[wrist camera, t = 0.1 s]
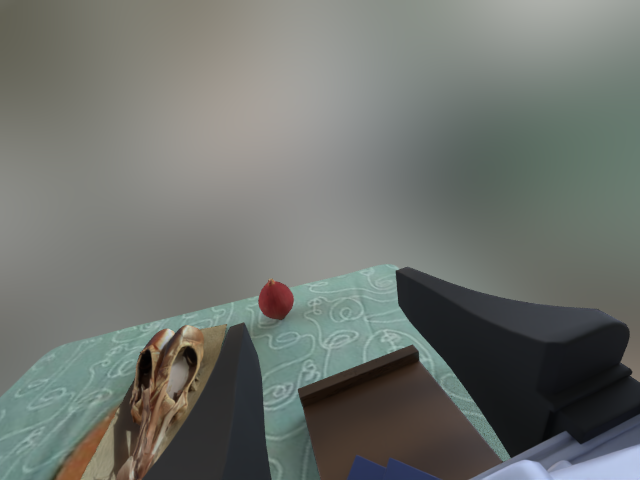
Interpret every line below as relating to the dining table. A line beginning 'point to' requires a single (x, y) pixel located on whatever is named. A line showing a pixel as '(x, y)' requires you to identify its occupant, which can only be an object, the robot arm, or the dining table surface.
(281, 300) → the onion
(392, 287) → the dining table surface
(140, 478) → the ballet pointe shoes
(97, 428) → the dining table surface
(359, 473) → the trainer
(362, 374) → the shoe shelf
